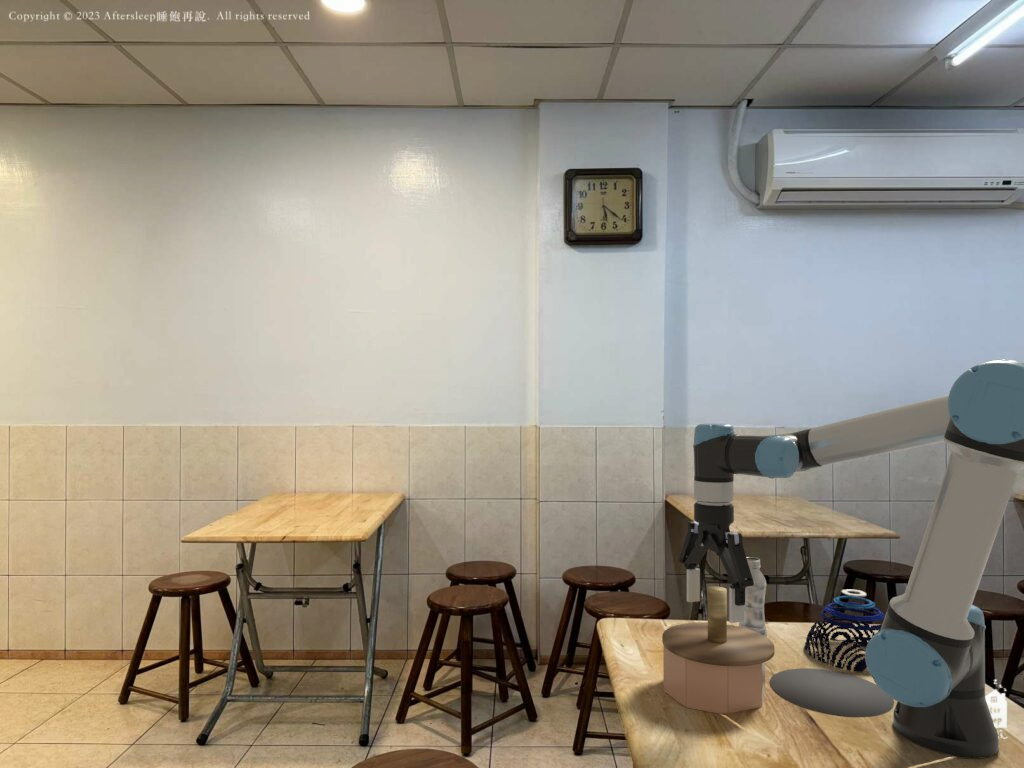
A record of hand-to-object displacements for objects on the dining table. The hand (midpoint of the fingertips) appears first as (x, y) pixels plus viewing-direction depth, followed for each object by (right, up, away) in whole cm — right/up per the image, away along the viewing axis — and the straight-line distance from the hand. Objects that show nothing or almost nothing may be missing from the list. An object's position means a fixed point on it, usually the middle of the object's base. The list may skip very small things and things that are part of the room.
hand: (714, 611), depth 134 cm
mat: (+22, -16, -1) cm, 27 cm away
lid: (+1, -7, 0) cm, 7 cm away
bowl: (0, -16, 0) cm, 16 cm away
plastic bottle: (+16, -16, +25) cm, 34 cm away
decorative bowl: (+37, -17, +18) cm, 44 cm away
